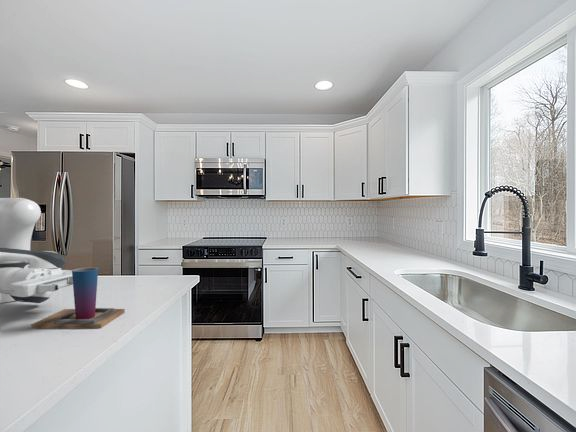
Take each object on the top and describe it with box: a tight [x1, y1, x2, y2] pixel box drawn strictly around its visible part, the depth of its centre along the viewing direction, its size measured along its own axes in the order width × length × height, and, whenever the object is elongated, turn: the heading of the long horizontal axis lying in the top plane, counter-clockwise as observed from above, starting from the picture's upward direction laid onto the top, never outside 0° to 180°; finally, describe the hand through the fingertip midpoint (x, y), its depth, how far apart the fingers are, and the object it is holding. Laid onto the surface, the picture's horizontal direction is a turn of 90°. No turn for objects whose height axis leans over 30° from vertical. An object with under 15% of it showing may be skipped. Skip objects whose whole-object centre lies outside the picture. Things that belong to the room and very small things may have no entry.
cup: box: [71, 266, 99, 319], centre depth 97 cm, size 7×7×15 cm
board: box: [30, 307, 126, 329], centre depth 98 cm, size 20×14×2 cm
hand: (69, 284), depth 99 cm, fingers open, 8 cm apart
